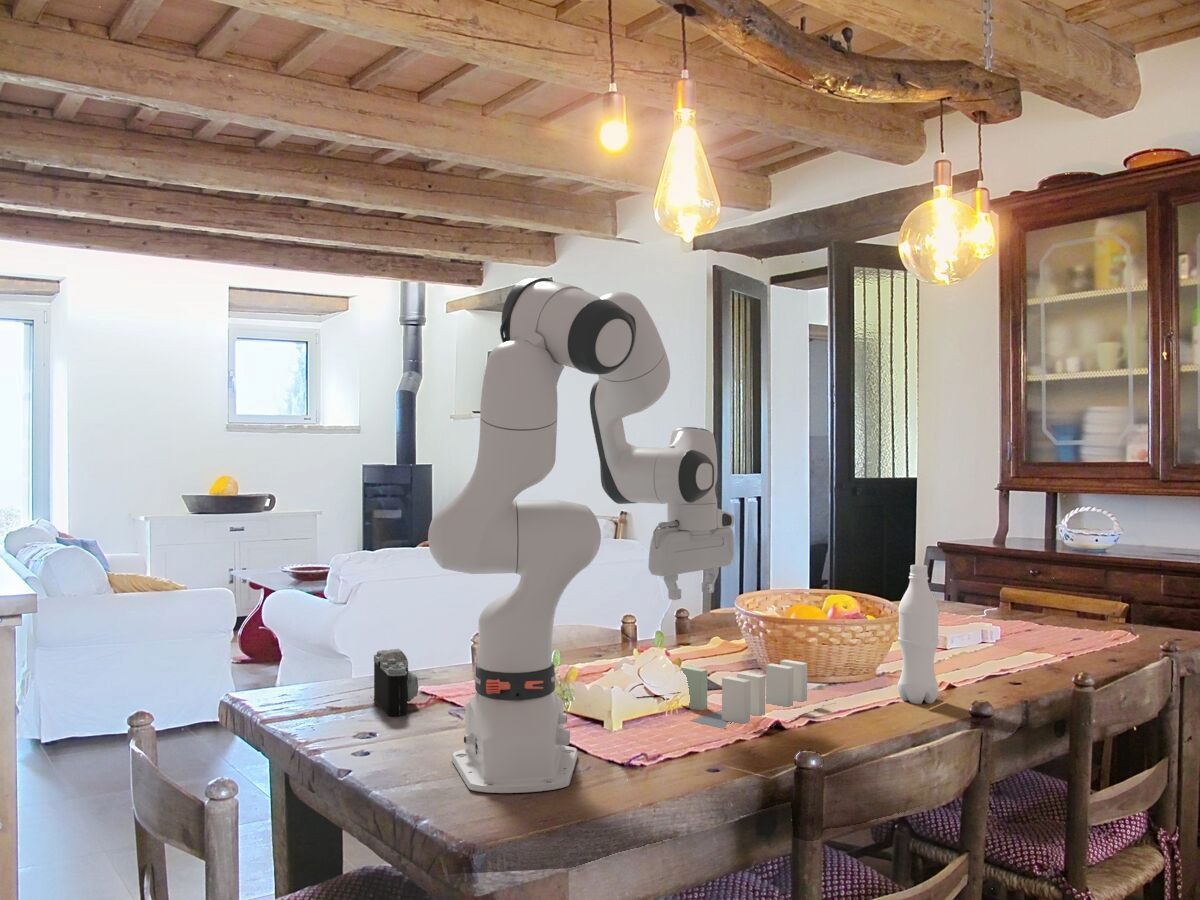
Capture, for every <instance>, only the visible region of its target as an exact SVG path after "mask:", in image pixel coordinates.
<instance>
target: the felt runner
mask: <svg viewBox="0 0 1200 900" xmlns="http://www.w3.org/2000/svg"><path fill="white" fill-rule="evenodd" d="M721 711H722V709H721V710H718V711H716V712H712V713H709V714H705V715H703V716H699V717H696V718H693V719H690V720H689V721H690V722H693V723H697V724H701V725H706V726H710V727H714V728H717V729H718V728H719V729H722V728H724V727H726V725H727V723H728V722H729V721H725V720H722V712H721ZM731 723H732V722H731ZM731 723H730V724H731ZM773 726H777V725H776V724H775V725H773ZM773 726H772V727H773Z"/></svg>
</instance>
